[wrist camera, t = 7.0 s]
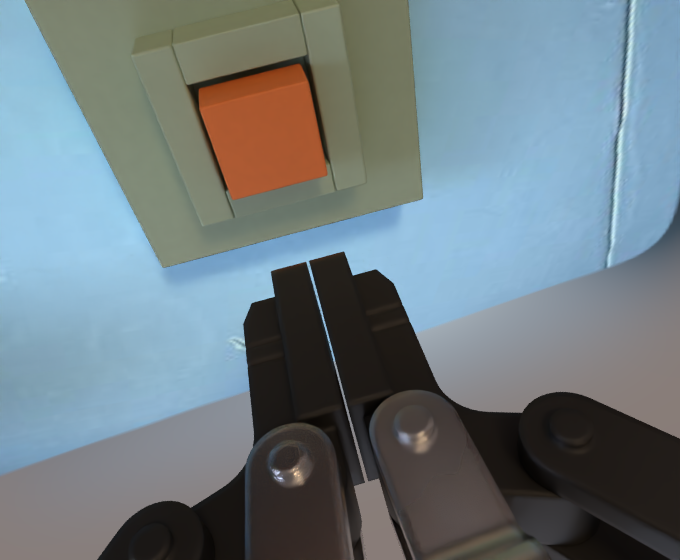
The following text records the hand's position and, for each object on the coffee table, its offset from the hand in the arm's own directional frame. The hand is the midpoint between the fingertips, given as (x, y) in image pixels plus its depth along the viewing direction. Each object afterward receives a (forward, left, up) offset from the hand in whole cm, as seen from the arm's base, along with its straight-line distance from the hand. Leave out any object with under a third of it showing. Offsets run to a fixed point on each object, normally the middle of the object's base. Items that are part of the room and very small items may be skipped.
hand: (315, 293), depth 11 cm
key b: (0, 0, -9) cm, 9 cm away
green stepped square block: (0, 0, -12) cm, 12 cm away
